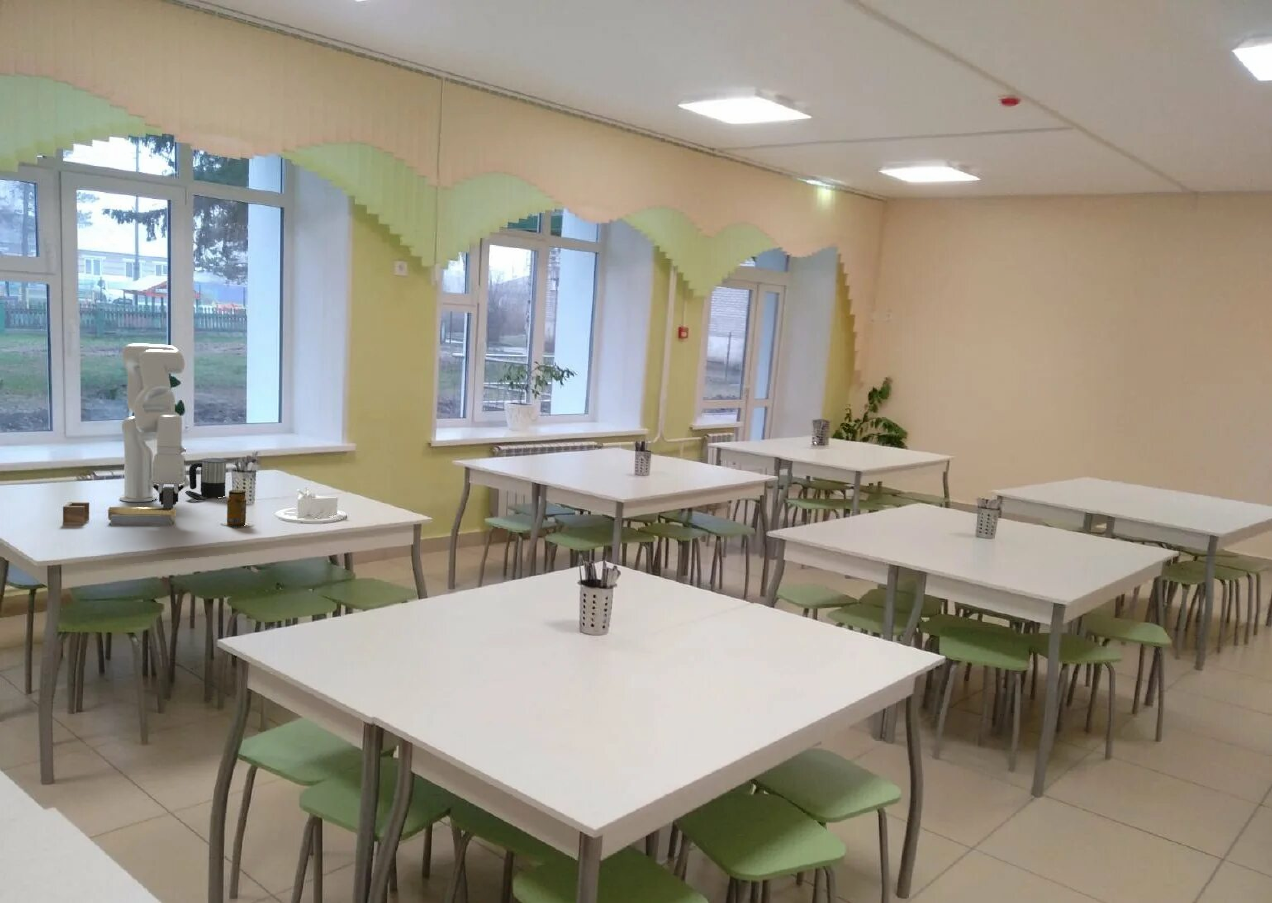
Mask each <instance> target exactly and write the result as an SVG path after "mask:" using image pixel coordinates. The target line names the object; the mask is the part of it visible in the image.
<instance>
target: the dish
mask: <svg viewBox="0 0 1272 903" xmlns="http://www.w3.org/2000/svg"><path fill="white" fill-rule="evenodd" d="M304 489H305V492H303V491H302V490H301V489H299V488H298V489H296V491H297V492H298V493H300V494H298V498H297V504H296V505H297V506H296V507H288V508H283V509H280V510H277V511H276V512H275V513H274V515H275V516H274V517H275V519H277V518H278V519H277V520H279V519H282V520H281V521H283V520H285V521H284V522H287V521H291V522H290V523H294V522H303V523H302V524H324V523H323V522H329V523H332V522H331V521H335V520H339V519H342V518H345V517H346V516H347V514H346V512H345V511H343V510H340V509H338V501H339V500H338V499H339V498H338V497H336V496H334V497H333V496H323V495H316V494H315V492H312V491H309V490H308V488H307V486H306V484H304ZM295 510H297V517H296V516H289V515H284V513H295V512H291V511H295ZM337 513H338V514H339V516H337V517H333V518H330V517H329V516H332V515H333V516H334V515H337ZM297 518H305V519H297ZM315 518H317V519H315ZM346 518H347V517H346ZM346 518H345V519H346Z"/></svg>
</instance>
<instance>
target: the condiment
mask: <svg viewBox="0 0 1272 903" xmlns="http://www.w3.org/2000/svg"><path fill="white" fill-rule="evenodd" d="M226 502H227V509H226V523H225V522H224V523H221V525H223V526H226V527H229V528H235V529H240V528H239V527H241V528H247V527H253V526H255V525H254V524H250V523H246V522H247V520H246V519H247V499H246V491H245V490H242V489H230V490H229V491H228V498H227V501H226ZM245 523H246V524H248V525H246V526H244V525H245ZM237 527H238V528H237Z"/></svg>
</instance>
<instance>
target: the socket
mask: <svg viewBox="0 0 1272 903" xmlns="http://www.w3.org/2000/svg"><path fill="white" fill-rule="evenodd" d="M89 521H90V502H89V501H88V502H86V501H84V502H80V501H79V502H78V501H76V502H75V501H73V502H72V501H69V502H67V503H66V504H65V505H63V506H62V525H63V526H68V525H69V526H84V525H85V524H87V522H89Z"/></svg>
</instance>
